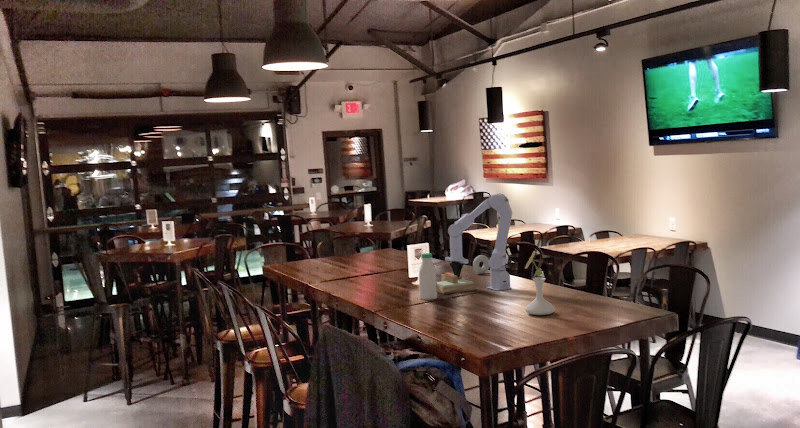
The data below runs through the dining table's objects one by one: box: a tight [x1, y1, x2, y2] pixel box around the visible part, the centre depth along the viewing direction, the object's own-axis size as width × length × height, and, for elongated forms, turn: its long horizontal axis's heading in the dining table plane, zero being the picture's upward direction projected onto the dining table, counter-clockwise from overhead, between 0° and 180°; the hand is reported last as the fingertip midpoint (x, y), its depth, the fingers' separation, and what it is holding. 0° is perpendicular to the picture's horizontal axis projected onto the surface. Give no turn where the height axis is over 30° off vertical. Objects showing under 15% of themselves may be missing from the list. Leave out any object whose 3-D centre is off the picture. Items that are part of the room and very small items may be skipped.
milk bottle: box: [418, 252, 438, 301], centre depth 300 cm, size 8×8×20 cm
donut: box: [472, 254, 490, 275], centre depth 359 cm, size 10×4×10 cm, turn 116°
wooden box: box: [437, 282, 475, 295], centre depth 317 cm, size 11×16×3 cm
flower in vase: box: [524, 250, 556, 316], centre depth 260 cm, size 13×11×25 cm
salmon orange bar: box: [443, 271, 454, 275], centre depth 330 cm, size 10×2×2 cm, turn 24°
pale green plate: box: [437, 274, 474, 287], centre depth 317 cm, size 10×15×4 cm
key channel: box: [440, 273, 463, 281], centre depth 330 cm, size 13×5×5 cm, turn 24°
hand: (457, 277), depth 325 cm, fingers closed
